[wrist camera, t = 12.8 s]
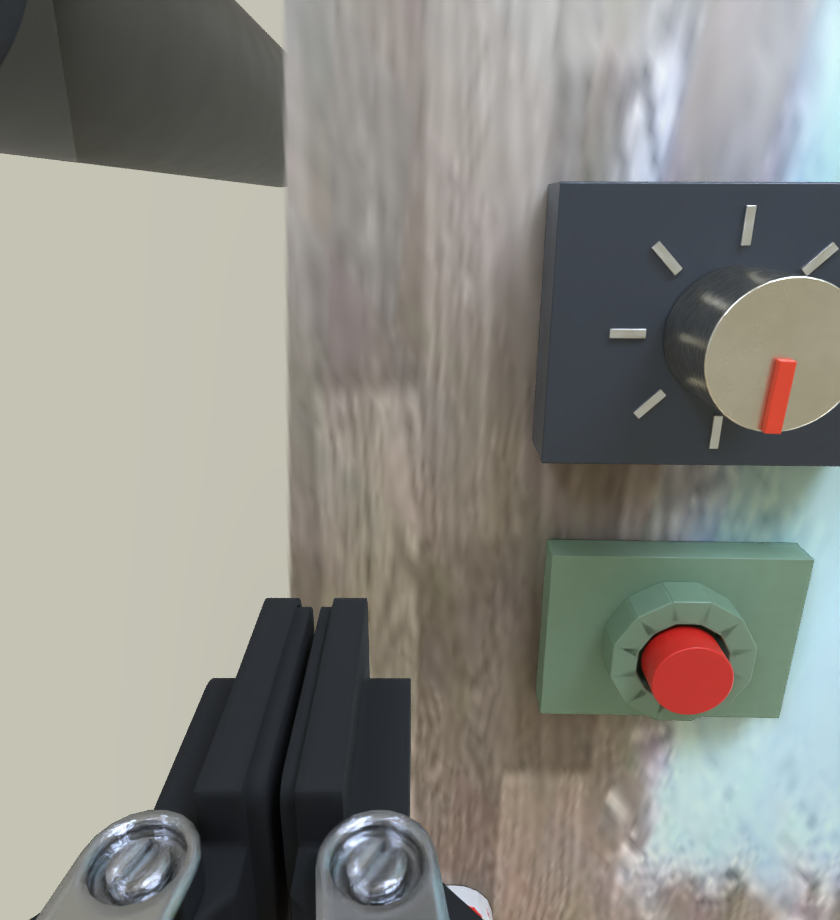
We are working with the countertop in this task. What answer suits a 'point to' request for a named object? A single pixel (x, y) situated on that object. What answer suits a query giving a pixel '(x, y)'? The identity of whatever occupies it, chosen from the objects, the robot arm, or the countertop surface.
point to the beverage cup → (473, 901)
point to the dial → (758, 346)
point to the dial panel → (663, 316)
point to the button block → (666, 620)
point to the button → (687, 670)
